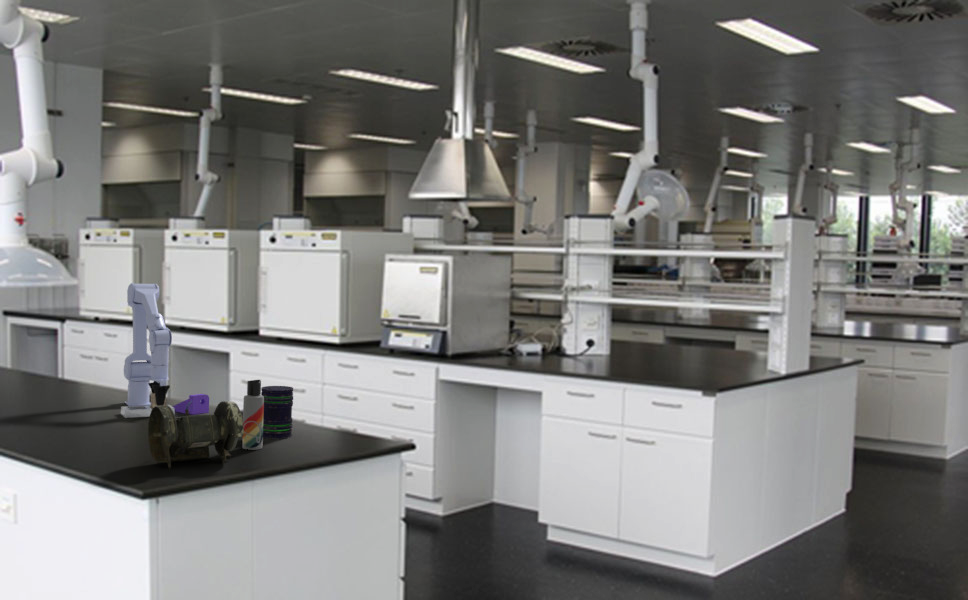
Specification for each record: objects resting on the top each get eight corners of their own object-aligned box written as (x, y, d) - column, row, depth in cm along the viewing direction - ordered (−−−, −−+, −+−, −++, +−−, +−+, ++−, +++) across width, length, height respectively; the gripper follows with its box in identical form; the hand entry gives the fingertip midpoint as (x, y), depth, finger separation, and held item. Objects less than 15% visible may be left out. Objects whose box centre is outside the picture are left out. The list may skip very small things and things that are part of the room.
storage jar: (281, 431, 299) (282, 385, 299) (298, 436, 292) (299, 388, 292) (253, 435, 292) (254, 387, 292) (270, 440, 285) (271, 391, 285)
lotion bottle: (252, 450, 269) (254, 381, 268) (237, 448, 272) (239, 379, 271) (266, 448, 274) (268, 379, 273) (252, 445, 277) (254, 377, 276)
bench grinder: (250, 455, 247) (242, 382, 254) (164, 458, 234) (159, 382, 241) (223, 475, 262) (216, 406, 269) (141, 479, 249) (136, 406, 256)
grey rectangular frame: (120, 413, 321) (121, 406, 321) (169, 411, 329) (169, 404, 329) (124, 417, 314) (125, 410, 314) (174, 415, 322) (174, 408, 322)
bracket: (208, 413, 330) (209, 394, 330) (192, 415, 325) (193, 395, 325) (187, 409, 337) (187, 390, 337) (170, 411, 332) (171, 392, 332)
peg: (150, 413, 324) (151, 393, 323) (162, 413, 326) (163, 392, 325) (153, 415, 320) (153, 394, 320) (165, 414, 322) (166, 394, 322)
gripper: (143, 362, 327) (142, 401, 327) (151, 367, 314) (150, 408, 315) (164, 362, 330) (163, 400, 331) (173, 367, 318) (172, 407, 318)
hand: (158, 404), depth 323 cm, fingers open, 4 cm apart
